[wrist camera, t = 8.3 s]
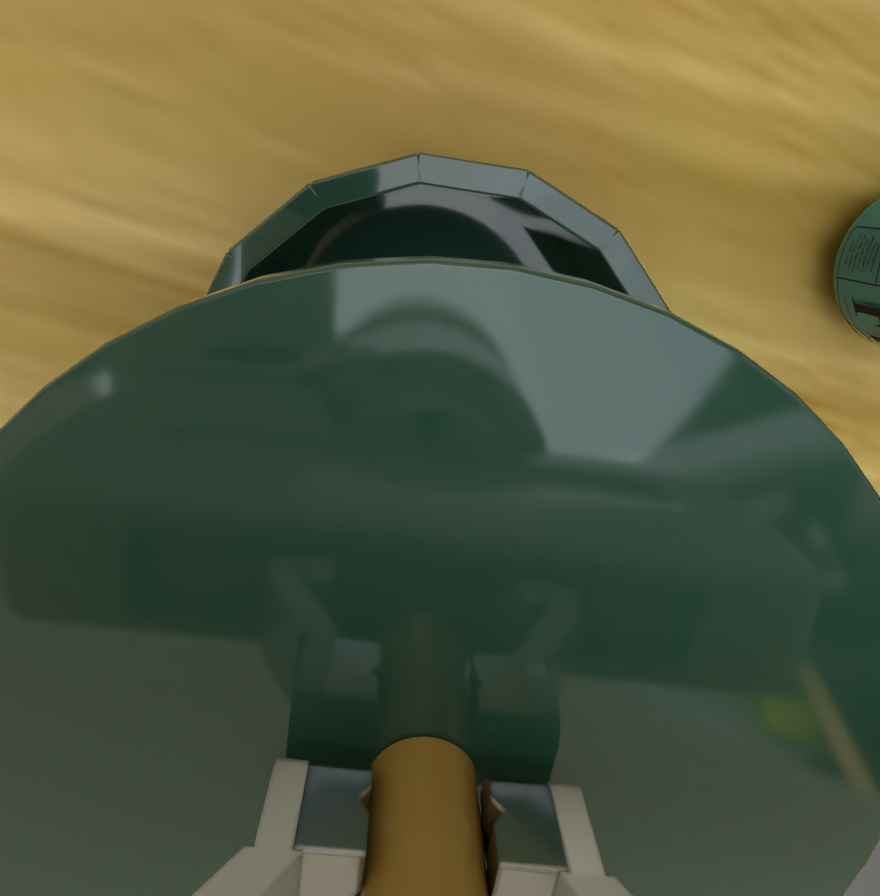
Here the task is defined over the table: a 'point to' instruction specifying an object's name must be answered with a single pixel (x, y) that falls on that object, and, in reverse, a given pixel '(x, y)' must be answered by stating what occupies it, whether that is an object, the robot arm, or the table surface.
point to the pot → (438, 225)
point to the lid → (434, 588)
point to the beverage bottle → (860, 273)
